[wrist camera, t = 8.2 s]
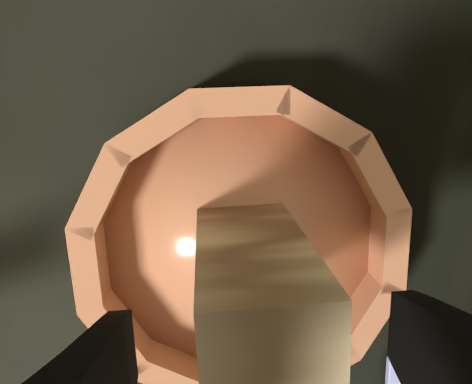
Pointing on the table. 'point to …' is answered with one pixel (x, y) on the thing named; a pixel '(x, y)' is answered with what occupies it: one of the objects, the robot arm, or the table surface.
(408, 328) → the robot arm
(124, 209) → the saucer
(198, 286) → the beige wooden block
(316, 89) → the table surface
